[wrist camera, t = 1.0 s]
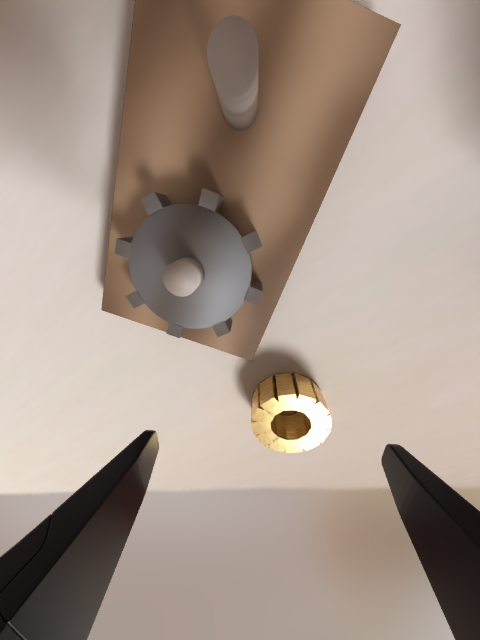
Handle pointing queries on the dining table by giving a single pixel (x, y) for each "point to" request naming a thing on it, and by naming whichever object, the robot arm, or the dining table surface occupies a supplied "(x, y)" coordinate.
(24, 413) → the dining table surface
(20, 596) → the robot arm
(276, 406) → the brass gear
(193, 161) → the gear board
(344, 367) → the dining table surface
